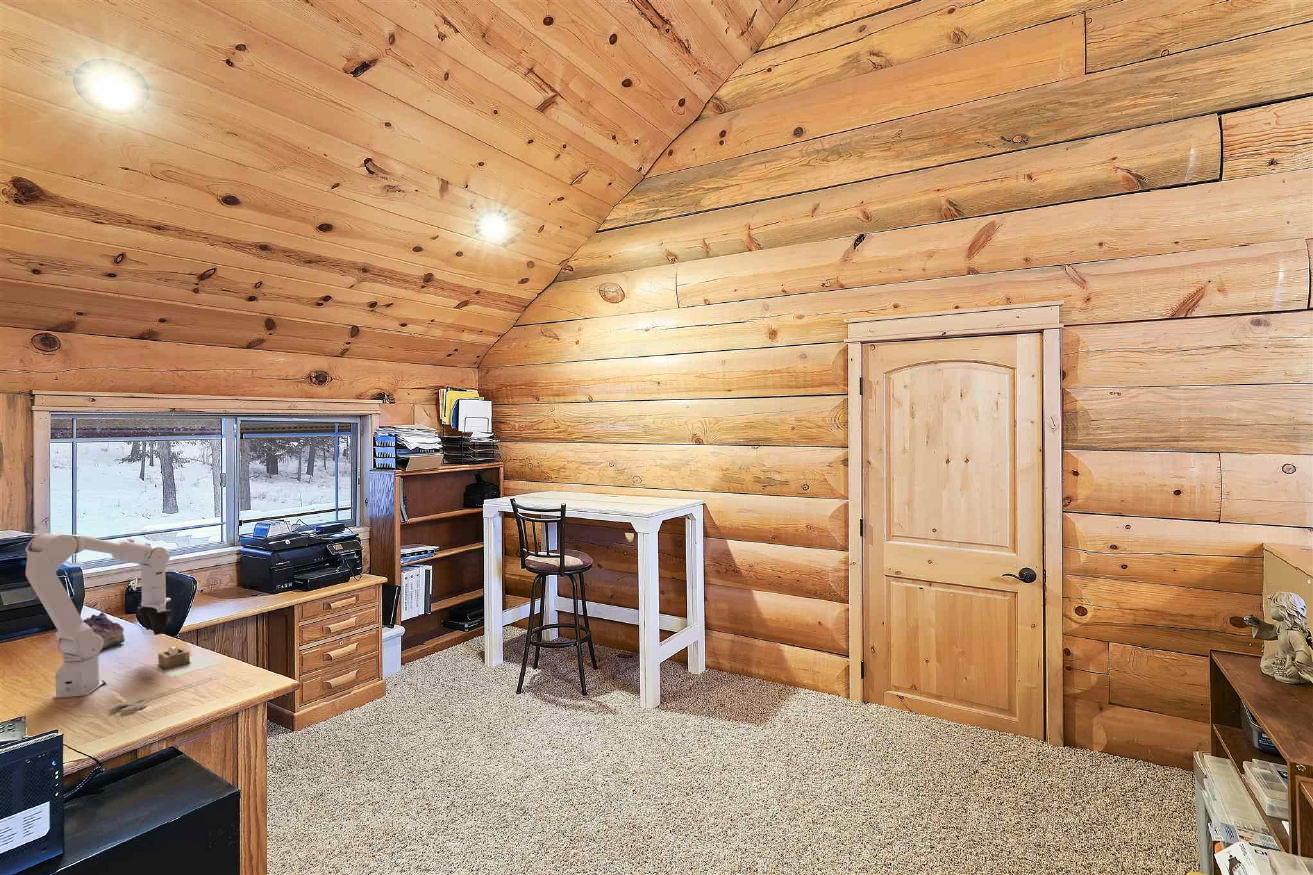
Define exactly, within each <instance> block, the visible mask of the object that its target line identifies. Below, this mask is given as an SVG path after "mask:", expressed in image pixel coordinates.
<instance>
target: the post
mask: <svg viewBox="0 0 1313 875" xmlns="http://www.w3.org/2000/svg"><path fill="white" fill-rule="evenodd" d="M178 648H179V646H177V645H175V646H170V647H168V651H169V655H173V654H178ZM190 663H191V662H190ZM190 663H187V664H190ZM187 664H183V665H187ZM183 665H180V666H183ZM155 666H158V667H159V668H161V669H162V670H167V669H164V668H163V667H161V666H160V665H159V663H157V664H155ZM176 667H179V666H176ZM172 668H175V667H172ZM168 669H171V668H168Z"/></svg>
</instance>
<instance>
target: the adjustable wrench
mask: <svg viewBox="0 0 1313 875" xmlns="http://www.w3.org/2000/svg"><path fill="white" fill-rule="evenodd" d="M220 678H222V676H221V675H219V678H216V675H215V676H212V677H208V678H205V679H202V680H198V681H196V682H193V683H192V682H191V683H189V684H187V685H183V686H180V687H179V686H178V687H177V688H173V689H170V690H167V691H163V692H161V693H157V694H154V695H151V696H148V697H143V698H138V699H133V700H132V699H131V700H128V701H122V702H119V703H117V704H113V705H112V706H111V707H110V708H109V709H108V710H109V715H112V714H115V713H116V712H120V713H119V714H120V716H125V715H129V714H134V713H136V712H139V711H143V710H144V709H146V708H147V707H148V706H149V704H148V705H146V704H147V703H148V702H150V701H153V700H155V699H159V698H163V697H164V696H168V695H171V694H174V693H177V692H181V691H184V690H187V689H189V688H193V687H197V686H199V685H202V684H206V683H208V682H213V681H215V680H218V679H220ZM206 680H207V681H206ZM203 681H204V682H203ZM201 682H202V683H201ZM194 684H195V685H194ZM190 685H191V686H190Z"/></svg>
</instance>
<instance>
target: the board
mask: <svg viewBox="0 0 1313 875" xmlns="http://www.w3.org/2000/svg"><path fill="white" fill-rule="evenodd" d="M189 657H190V662H191V663H190V664H187V665H183V666H179V667H175V668H171V669H167V670H162V669H161V668H159V667H158V666H156V665H154V666H153V667H154V668H156V669H158V671H160V672H161V673H163V674H165V675H166V676H168V677H169V678H172V677H177V676H180V675H184V674H189V673H191V672H195V671H199V670H202V669H207V668H209V667H214V666H219V663H217V661H214V660H212V659H211V658H209V657H207V656H205V655H203V654H196V655H192V656H189Z"/></svg>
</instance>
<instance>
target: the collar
mask: <svg viewBox="0 0 1313 875" xmlns="http://www.w3.org/2000/svg"><path fill="white" fill-rule="evenodd" d="M157 655H158V656H157V657H158V658H157V661H158V664H159V665H160V666H161V667H163V668H164V669H168V668H172V667H176V666H180V665H183V664H187V663H190V657H191V656H190V651H189V650H187V649H186V648H184V647H178V654H173V655H169V650H166V651H162V652H161V651H160V652H158V653H157Z"/></svg>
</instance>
